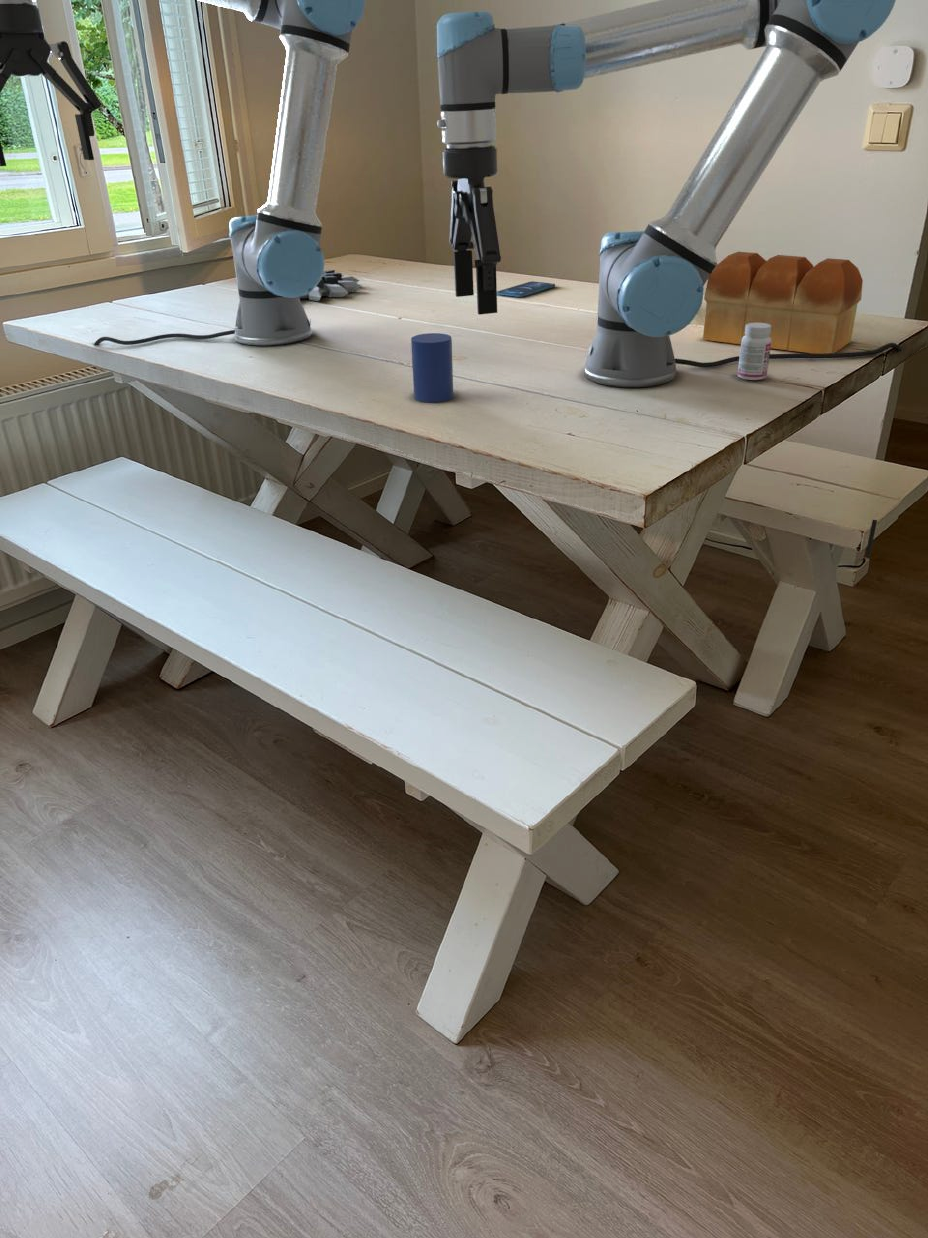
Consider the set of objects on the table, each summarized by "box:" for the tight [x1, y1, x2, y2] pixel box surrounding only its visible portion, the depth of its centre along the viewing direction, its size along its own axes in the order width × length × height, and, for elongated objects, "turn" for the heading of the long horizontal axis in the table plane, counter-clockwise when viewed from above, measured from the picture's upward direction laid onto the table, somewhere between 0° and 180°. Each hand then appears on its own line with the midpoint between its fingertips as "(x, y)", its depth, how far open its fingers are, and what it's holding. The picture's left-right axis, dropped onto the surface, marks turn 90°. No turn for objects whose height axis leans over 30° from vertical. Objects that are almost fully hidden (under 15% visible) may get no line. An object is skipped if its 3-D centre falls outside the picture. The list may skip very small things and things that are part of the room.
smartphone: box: [497, 281, 556, 298], centre depth 225 cm, size 8×1×15 cm
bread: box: [702, 251, 864, 354], centre depth 174 cm, size 25×12×15 cm, turn 54°
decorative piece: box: [299, 269, 363, 302], centre depth 230 cm, size 30×4×30 cm
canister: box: [410, 332, 454, 404], centre depth 150 cm, size 6×6×9 cm
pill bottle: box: [737, 323, 772, 381], centre depth 155 cm, size 5×5×8 cm
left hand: (46, 162), depth 150 cm, fingers open, 13 cm apart
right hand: (475, 304), depth 141 cm, fingers open, 13 cm apart
